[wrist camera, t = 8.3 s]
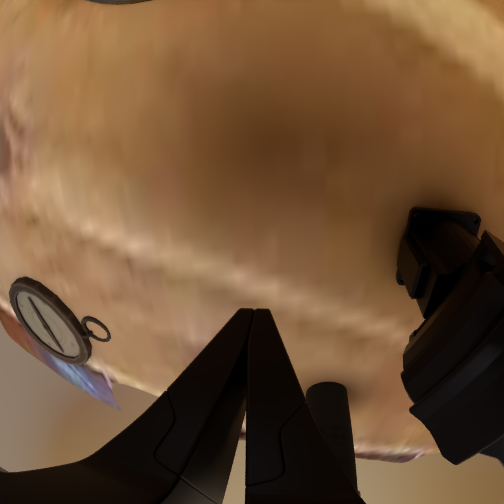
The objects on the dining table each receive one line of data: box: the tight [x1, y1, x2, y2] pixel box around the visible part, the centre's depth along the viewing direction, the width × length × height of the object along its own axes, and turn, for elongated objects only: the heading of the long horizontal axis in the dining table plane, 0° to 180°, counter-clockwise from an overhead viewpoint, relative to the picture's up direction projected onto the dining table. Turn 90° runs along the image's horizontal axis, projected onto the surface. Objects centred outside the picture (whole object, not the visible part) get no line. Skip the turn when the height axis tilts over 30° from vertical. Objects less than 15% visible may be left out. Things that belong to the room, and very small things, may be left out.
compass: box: [9, 277, 111, 366], centre depth 34 cm, size 20×16×2 cm
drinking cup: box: [306, 382, 360, 496], centre depth 22 cm, size 8×8×20 cm
